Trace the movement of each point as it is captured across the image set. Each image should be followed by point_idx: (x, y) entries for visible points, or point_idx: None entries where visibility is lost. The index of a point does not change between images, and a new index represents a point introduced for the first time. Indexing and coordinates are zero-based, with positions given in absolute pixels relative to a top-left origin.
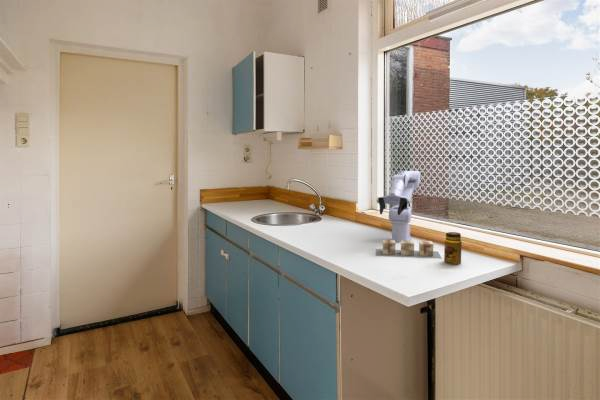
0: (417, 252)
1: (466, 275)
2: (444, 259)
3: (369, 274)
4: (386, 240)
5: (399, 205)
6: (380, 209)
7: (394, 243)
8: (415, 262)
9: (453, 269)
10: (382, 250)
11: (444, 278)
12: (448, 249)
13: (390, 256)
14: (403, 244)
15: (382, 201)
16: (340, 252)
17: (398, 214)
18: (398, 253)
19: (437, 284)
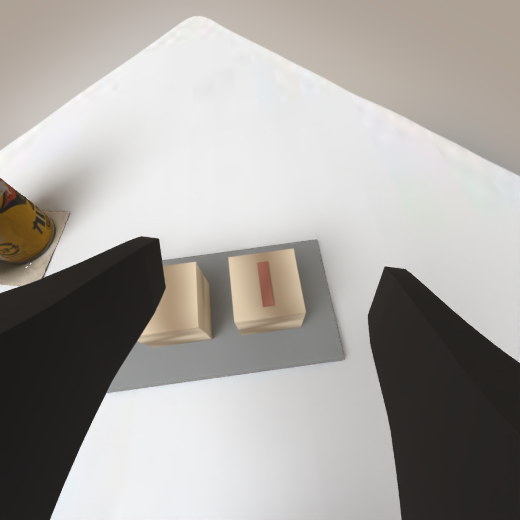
0: (131, 350)
1: (31, 141)
2: (45, 223)
3: (294, 82)
4: (282, 300)
5: (79, 282)
6: (405, 277)
7: (233, 257)
8: (159, 216)
9: (48, 179)
10: (304, 340)
11: (99, 106)
12: (2, 180)
13: (254, 248)
14: (187, 265)
15: (504, 407)
16: (491, 269)
17: (158, 279)
18: (222, 304)
19: (127, 70)
